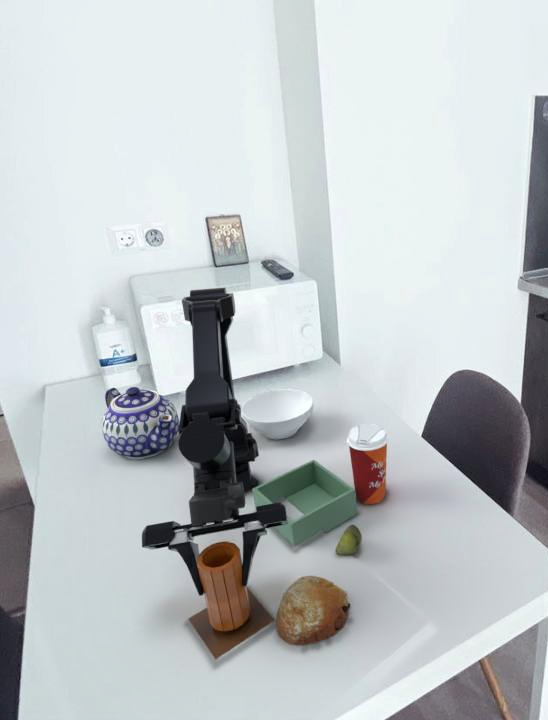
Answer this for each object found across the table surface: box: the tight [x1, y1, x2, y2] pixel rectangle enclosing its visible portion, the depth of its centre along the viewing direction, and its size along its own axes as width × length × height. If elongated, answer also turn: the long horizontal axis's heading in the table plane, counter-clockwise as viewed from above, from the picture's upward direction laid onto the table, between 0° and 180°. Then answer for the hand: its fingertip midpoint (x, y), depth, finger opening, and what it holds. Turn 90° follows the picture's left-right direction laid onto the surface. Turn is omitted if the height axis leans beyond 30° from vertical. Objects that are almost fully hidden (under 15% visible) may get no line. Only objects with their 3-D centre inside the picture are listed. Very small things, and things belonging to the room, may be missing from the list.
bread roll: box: [275, 575, 351, 646], centre depth 78 cm, size 10×10×8 cm
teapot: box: [101, 386, 180, 460], centre depth 118 cm, size 25×15×15 cm, turn 53°
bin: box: [251, 459, 358, 547], centre depth 99 cm, size 13×13×6 cm
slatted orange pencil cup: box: [197, 541, 250, 631], centre depth 75 cm, size 5×5×11 cm
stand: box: [187, 587, 276, 661], centre depth 77 cm, size 9×9×6 cm
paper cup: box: [346, 423, 390, 505], centre depth 102 cm, size 8×8×14 cm
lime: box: [335, 523, 363, 556], centre depth 90 cm, size 4×5×5 cm
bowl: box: [241, 388, 314, 440], centre depth 125 cm, size 16×16×7 cm
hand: (223, 590), depth 74 cm, fingers closed on slatted orange pencil cup, 5 cm apart
